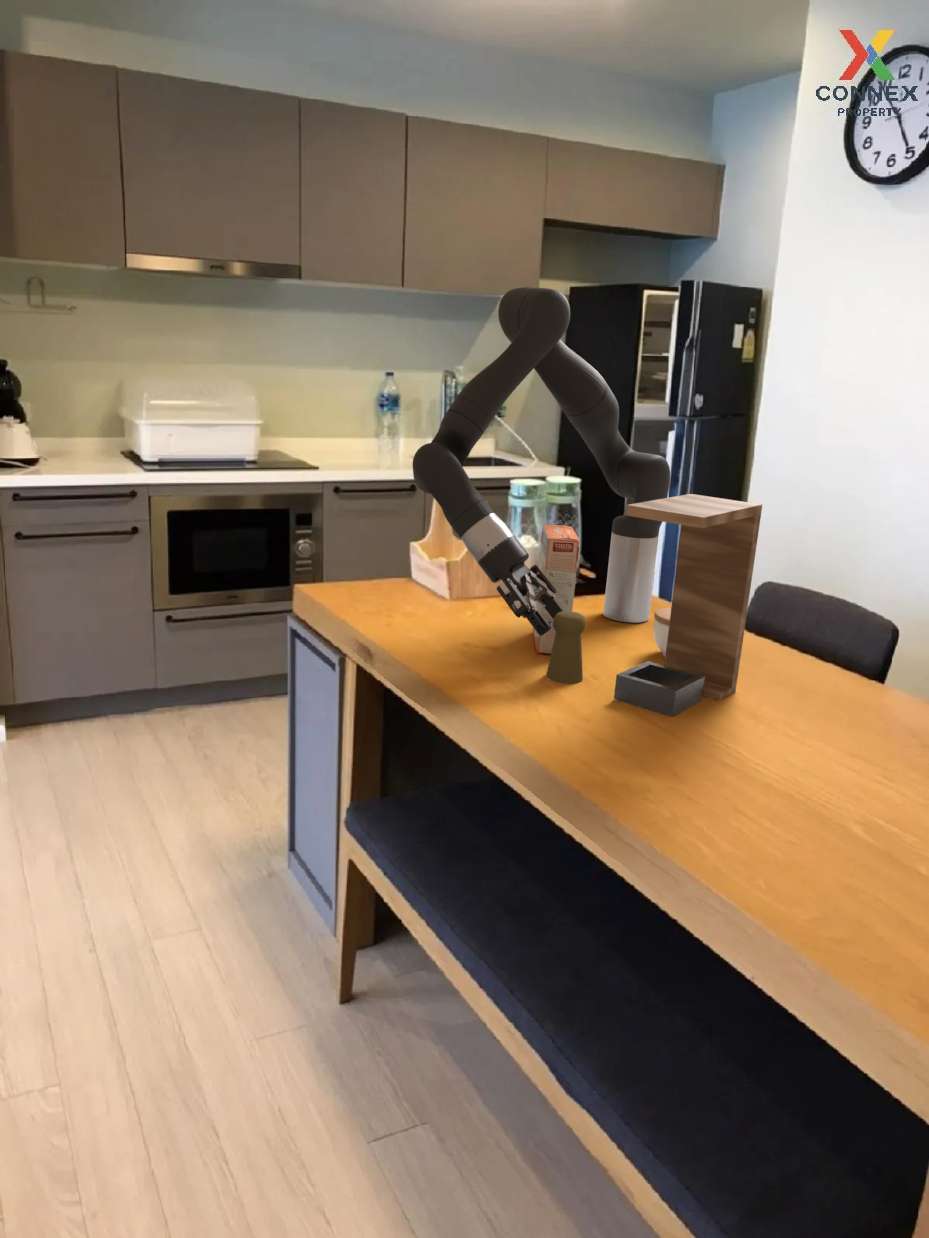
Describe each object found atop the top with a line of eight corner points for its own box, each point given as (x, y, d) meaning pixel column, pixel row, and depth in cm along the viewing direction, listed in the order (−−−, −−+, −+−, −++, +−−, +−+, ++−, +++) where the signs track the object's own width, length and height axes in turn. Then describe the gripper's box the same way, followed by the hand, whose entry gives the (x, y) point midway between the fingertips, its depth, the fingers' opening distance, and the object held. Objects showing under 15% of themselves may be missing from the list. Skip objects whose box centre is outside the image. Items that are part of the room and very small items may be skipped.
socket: (644, 684, 158) (647, 661, 157) (701, 700, 152) (704, 676, 151) (613, 699, 150) (616, 674, 149) (672, 716, 144) (675, 691, 143)
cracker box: (570, 657, 170) (581, 539, 164) (535, 654, 170) (545, 537, 164) (563, 634, 184) (573, 525, 178) (531, 632, 184) (541, 522, 178)
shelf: (668, 673, 164) (690, 493, 156) (735, 691, 158) (762, 504, 149) (605, 703, 148) (626, 504, 140) (677, 724, 141) (703, 517, 133)
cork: (581, 685, 156) (587, 619, 153) (543, 680, 157) (549, 615, 154) (584, 674, 161) (590, 610, 158) (548, 669, 162) (553, 606, 160)
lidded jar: (645, 660, 171) (651, 608, 168) (654, 644, 181) (660, 595, 178) (707, 669, 168) (714, 617, 165) (713, 653, 178) (719, 603, 175)
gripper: (494, 540, 151) (558, 623, 150) (525, 527, 163) (585, 604, 162) (461, 568, 154) (523, 650, 153) (494, 554, 167) (552, 629, 166)
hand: (555, 626), depth 158 cm, fingers open, 8 cm apart
